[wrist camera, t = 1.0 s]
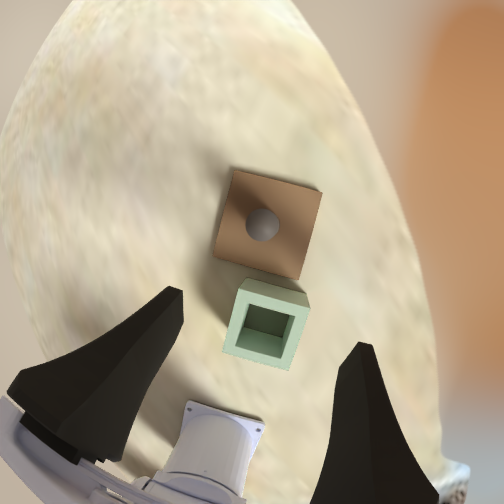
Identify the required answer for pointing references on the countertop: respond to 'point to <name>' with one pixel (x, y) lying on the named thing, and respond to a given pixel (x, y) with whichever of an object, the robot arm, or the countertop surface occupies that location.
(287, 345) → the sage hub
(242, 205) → the post base
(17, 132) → the countertop surface
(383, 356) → the countertop surface
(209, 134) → the countertop surface
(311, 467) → the countertop surface
